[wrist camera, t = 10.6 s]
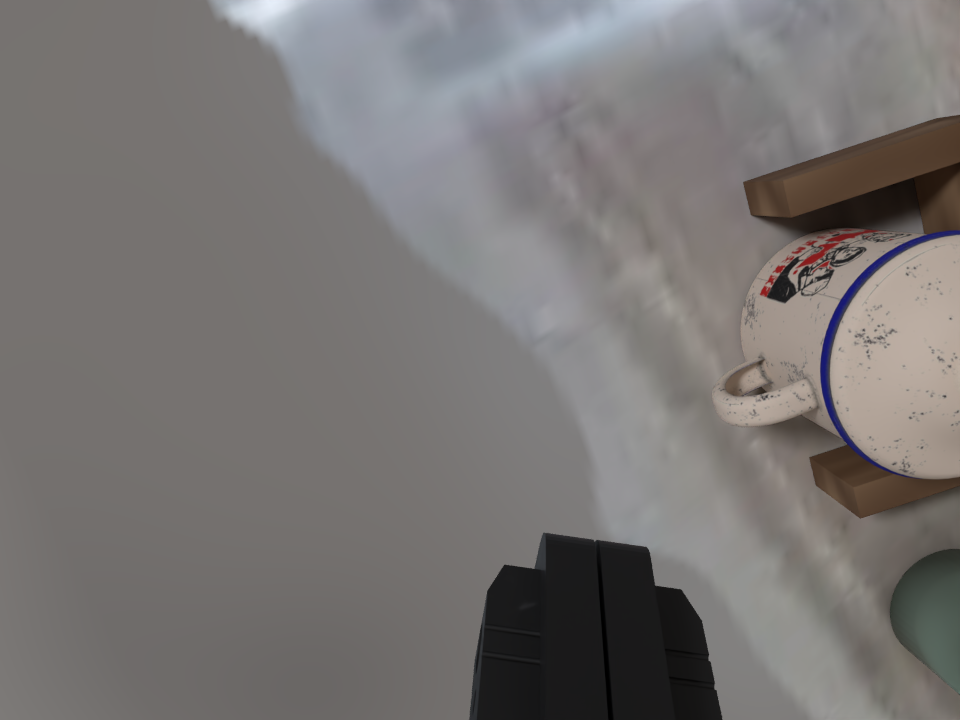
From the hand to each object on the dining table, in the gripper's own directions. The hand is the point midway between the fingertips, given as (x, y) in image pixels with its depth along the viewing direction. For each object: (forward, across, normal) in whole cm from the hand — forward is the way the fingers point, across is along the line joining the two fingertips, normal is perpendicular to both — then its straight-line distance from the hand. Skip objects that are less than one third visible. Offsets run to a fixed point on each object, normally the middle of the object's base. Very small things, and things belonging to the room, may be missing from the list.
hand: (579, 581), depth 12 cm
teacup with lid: (+25, -13, +8) cm, 29 cm away
